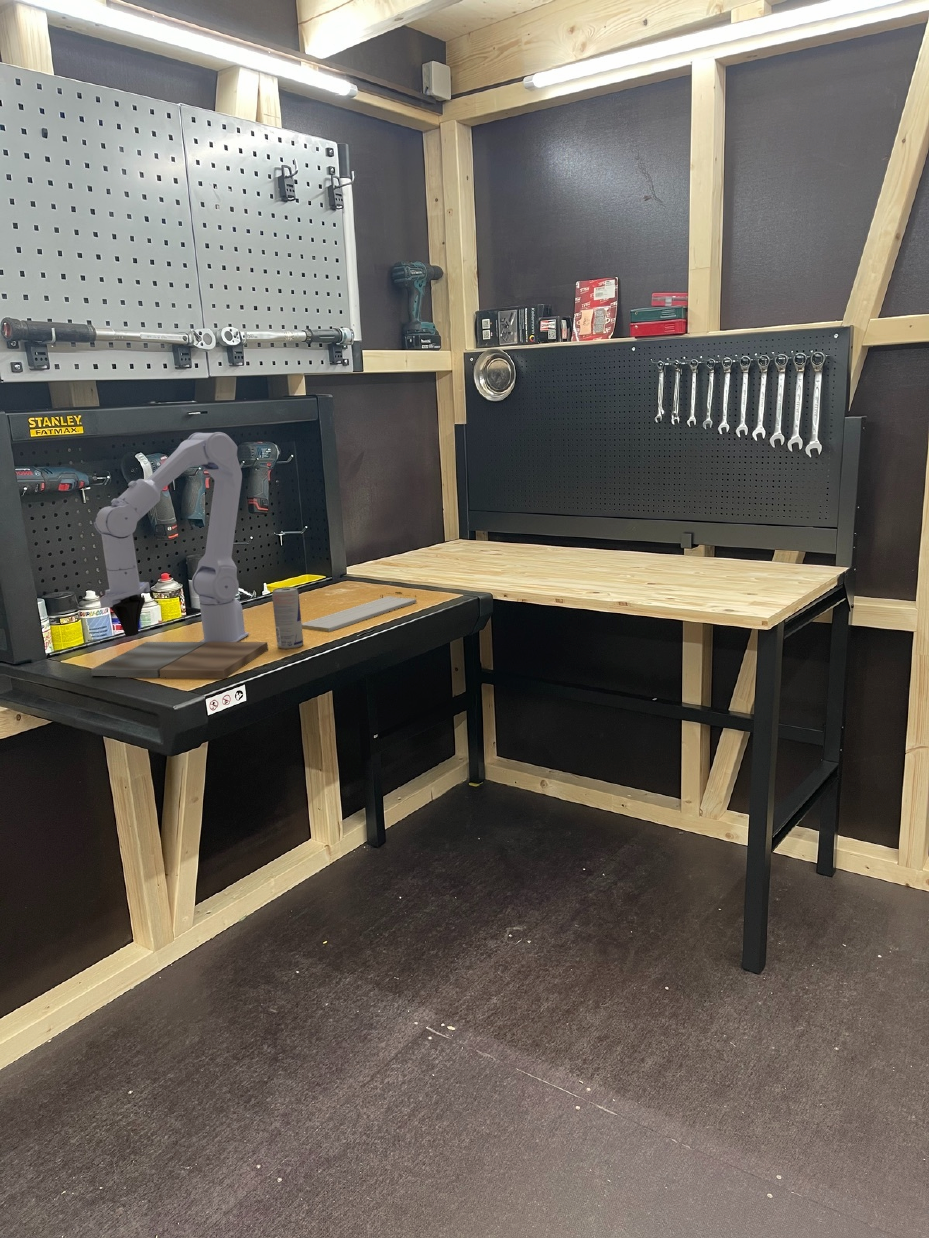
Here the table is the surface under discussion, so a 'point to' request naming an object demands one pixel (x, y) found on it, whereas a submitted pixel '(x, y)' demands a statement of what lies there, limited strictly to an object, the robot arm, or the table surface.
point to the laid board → (214, 660)
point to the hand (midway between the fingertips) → (131, 634)
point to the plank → (146, 659)
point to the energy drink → (287, 617)
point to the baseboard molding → (357, 613)
